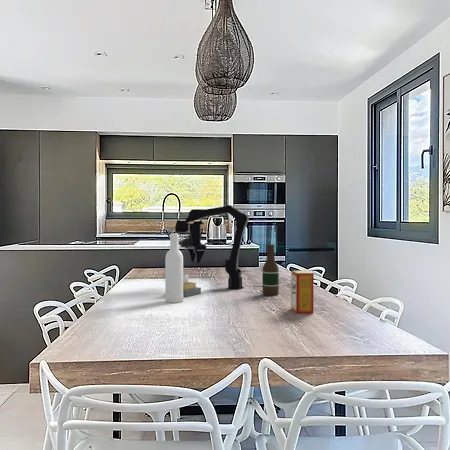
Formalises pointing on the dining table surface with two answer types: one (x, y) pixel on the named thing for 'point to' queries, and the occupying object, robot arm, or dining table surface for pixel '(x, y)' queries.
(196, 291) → the gearbox
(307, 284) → the baking soda box
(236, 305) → the dining table surface
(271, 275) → the beer bottle
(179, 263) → the bottle
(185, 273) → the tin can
